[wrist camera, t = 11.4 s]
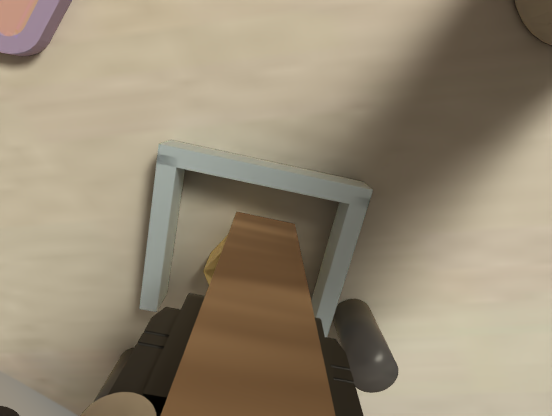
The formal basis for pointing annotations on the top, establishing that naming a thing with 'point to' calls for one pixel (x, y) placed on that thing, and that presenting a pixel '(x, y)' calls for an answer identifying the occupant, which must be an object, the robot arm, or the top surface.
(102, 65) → the top surface
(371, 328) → the spacers
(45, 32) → the icon
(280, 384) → the wooden block stand
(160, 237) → the grey u-shaped bracket
